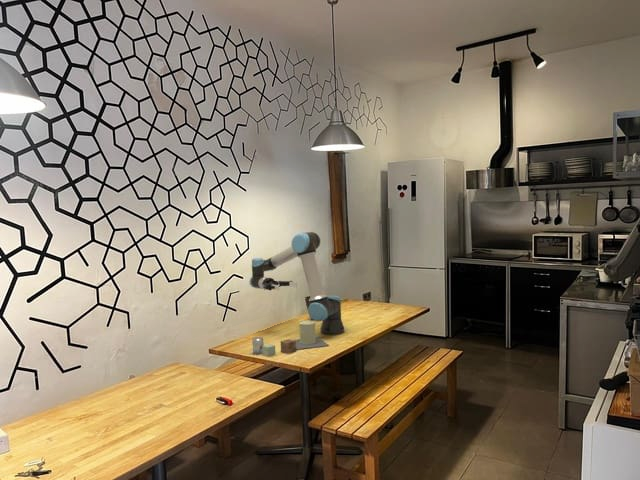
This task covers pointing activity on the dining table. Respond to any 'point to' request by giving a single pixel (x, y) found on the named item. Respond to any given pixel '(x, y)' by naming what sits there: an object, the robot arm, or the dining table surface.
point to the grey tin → (257, 345)
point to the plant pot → (307, 303)
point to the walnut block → (288, 346)
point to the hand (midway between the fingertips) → (287, 286)
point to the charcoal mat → (317, 344)
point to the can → (307, 332)
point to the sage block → (268, 350)
